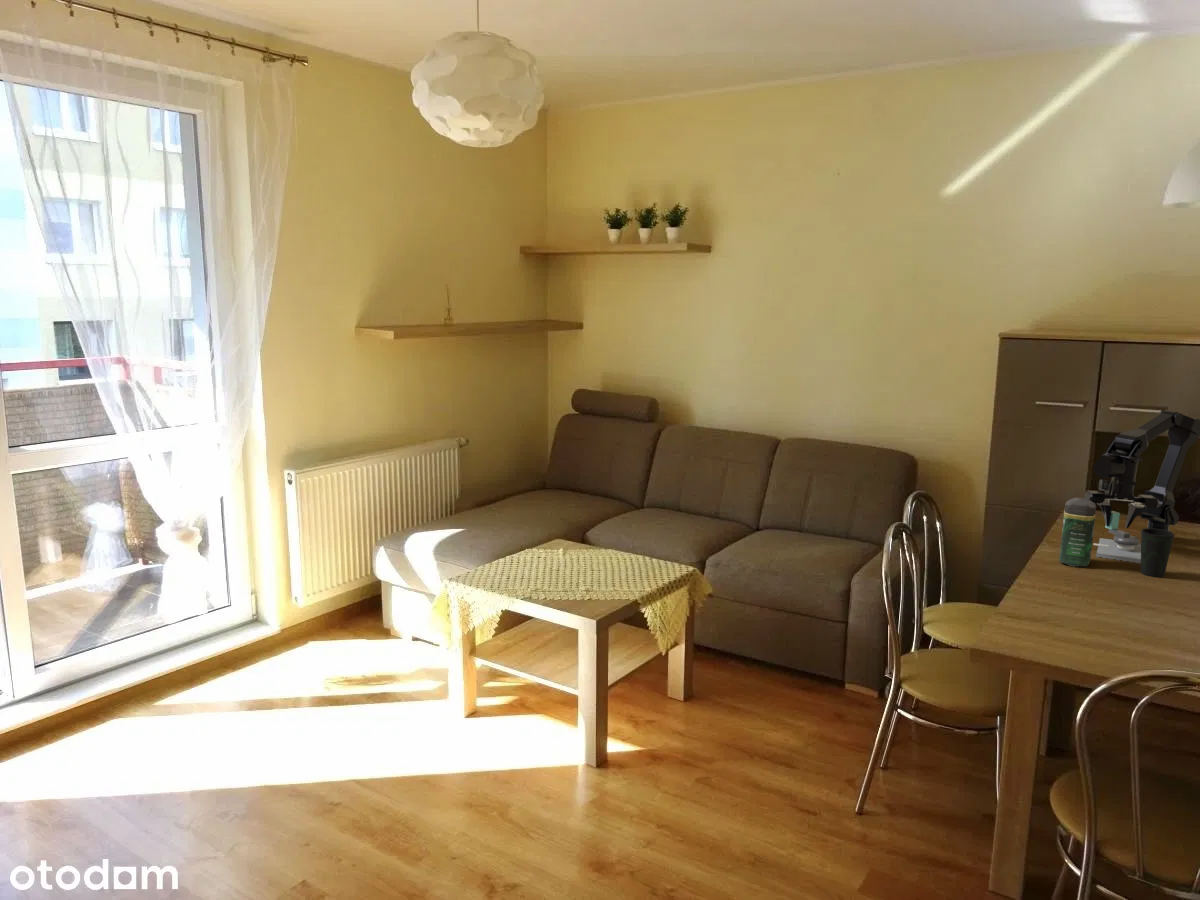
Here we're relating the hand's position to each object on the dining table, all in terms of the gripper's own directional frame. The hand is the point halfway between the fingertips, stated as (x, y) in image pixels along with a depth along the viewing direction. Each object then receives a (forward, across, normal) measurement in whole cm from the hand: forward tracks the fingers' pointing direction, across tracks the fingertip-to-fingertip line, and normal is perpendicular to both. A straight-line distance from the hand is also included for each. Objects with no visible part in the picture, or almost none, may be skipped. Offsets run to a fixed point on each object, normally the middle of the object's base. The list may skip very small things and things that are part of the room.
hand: (1116, 527), depth 264 cm
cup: (+7, -2, +24) cm, 25 cm away
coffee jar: (+8, +16, +18) cm, 25 cm away
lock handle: (+3, -1, +3) cm, 5 cm away
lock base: (+7, -2, +5) cm, 8 cm away
